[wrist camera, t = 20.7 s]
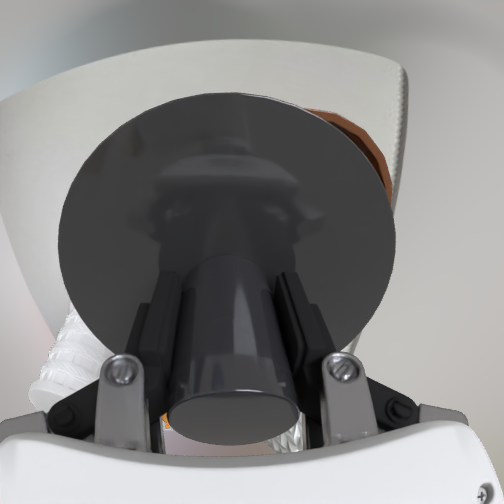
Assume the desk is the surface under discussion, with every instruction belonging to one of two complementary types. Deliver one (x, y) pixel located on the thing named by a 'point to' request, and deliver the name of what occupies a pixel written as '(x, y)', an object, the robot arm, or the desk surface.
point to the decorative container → (68, 364)
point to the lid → (227, 247)
